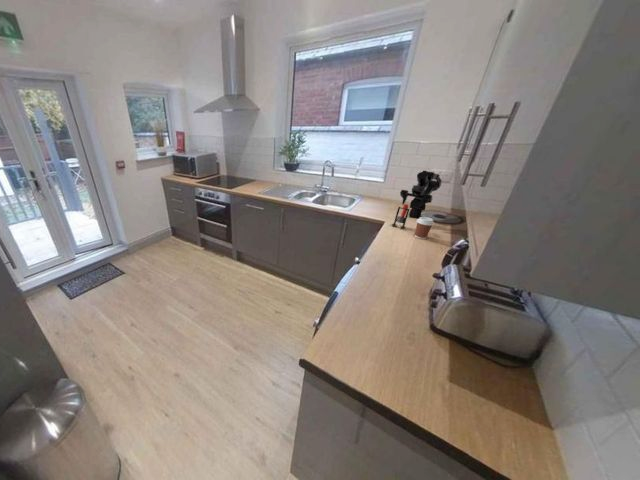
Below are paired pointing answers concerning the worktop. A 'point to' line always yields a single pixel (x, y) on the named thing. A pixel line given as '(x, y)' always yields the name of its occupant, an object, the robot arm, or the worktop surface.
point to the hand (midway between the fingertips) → (409, 206)
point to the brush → (401, 219)
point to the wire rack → (397, 216)
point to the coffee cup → (423, 227)
